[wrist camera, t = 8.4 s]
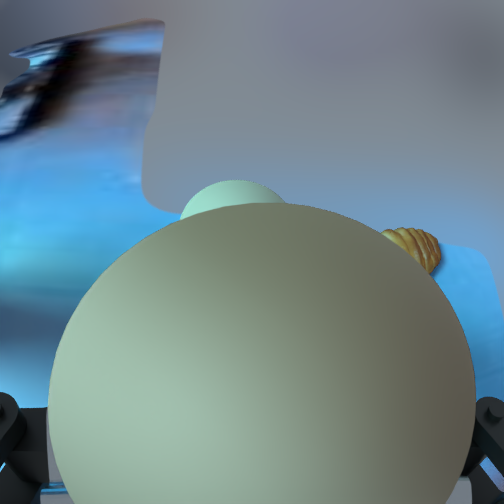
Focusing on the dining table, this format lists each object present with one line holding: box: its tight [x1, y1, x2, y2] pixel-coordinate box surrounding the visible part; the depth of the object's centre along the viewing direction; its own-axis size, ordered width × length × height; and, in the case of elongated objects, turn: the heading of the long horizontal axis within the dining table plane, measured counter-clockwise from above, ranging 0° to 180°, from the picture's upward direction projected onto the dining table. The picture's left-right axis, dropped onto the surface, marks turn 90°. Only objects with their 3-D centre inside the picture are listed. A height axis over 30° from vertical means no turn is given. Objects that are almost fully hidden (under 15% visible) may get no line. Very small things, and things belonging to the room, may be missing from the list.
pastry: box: [381, 227, 441, 274], centre depth 32 cm, size 9×7×4 cm
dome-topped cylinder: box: [48, 203, 476, 504], centre depth 8 cm, size 6×6×11 cm
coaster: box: [180, 180, 285, 220], centre depth 33 cm, size 12×12×1 cm
